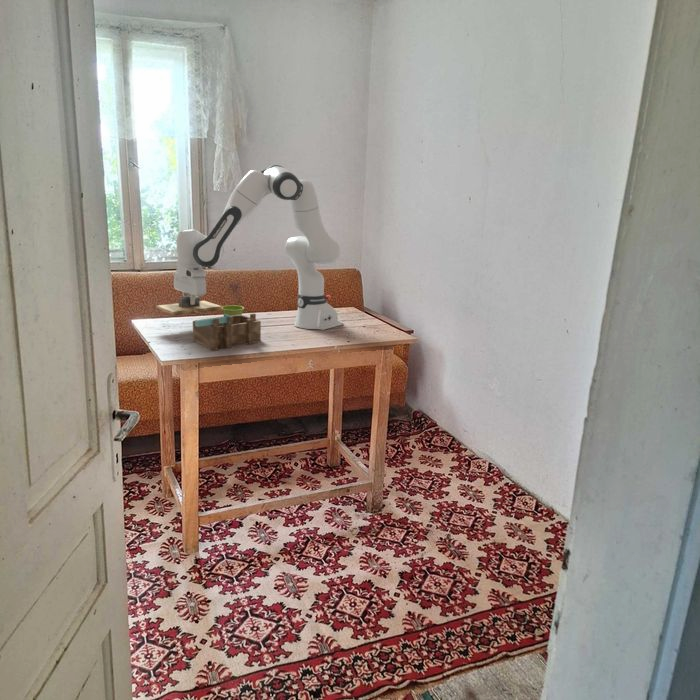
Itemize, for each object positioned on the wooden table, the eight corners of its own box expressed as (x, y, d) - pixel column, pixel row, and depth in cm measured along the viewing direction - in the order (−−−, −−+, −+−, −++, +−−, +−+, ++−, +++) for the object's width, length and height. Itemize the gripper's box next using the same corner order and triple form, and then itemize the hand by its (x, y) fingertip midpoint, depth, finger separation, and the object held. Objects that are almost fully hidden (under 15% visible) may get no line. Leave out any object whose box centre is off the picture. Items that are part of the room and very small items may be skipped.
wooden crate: (241, 333, 249) (240, 304, 245) (266, 342, 236) (266, 312, 233) (190, 341, 233) (189, 310, 230) (214, 351, 221) (214, 319, 218)
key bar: (226, 321, 226) (226, 313, 225) (229, 322, 224) (229, 315, 223) (194, 325, 217) (194, 318, 216) (198, 326, 215) (197, 319, 214)
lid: (204, 304, 259) (204, 292, 257) (225, 311, 247) (225, 299, 245) (156, 310, 244) (155, 297, 242) (176, 317, 232) (176, 304, 231)
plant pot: (244, 329, 255) (244, 309, 253) (221, 329, 253) (221, 309, 251) (243, 324, 264) (243, 305, 261) (221, 324, 262) (221, 305, 260)
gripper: (169, 267, 247) (170, 300, 251) (194, 273, 233) (195, 308, 237) (183, 266, 251) (184, 298, 255) (208, 272, 237) (209, 307, 241)
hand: (189, 303), depth 246 cm, fingers closed on lid, 2 cm apart
